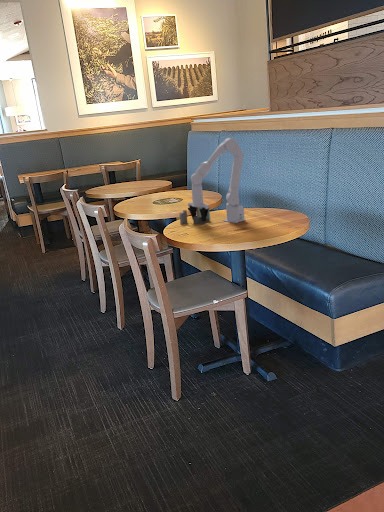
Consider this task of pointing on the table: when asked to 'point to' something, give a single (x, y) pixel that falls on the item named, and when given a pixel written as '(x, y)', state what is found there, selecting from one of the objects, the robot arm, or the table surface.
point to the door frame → (185, 216)
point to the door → (207, 214)
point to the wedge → (199, 220)
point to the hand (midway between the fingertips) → (199, 220)
